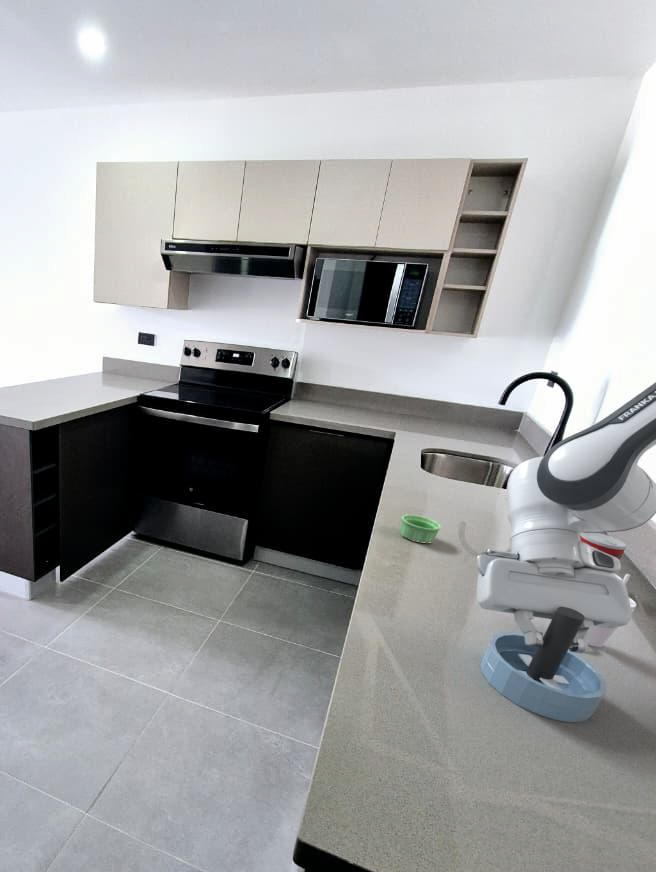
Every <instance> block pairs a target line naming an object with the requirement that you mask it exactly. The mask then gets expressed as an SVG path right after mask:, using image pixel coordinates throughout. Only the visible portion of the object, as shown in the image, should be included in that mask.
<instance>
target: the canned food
mask: <svg viewBox="0 0 656 872" xmlns="http://www.w3.org/2000/svg"><path fill="white" fill-rule="evenodd" d="M580 539H581V542H584V543H586V544H588V545H590V546H591V547H593V548H595V549H598V550H600V551H602V552H604V553H607V554H609V555H611V556H614V557H616V558H617V559H618V560H619V561H620V560H621V558H622V556H623V554H624V552H625V550H626V547H627V544H626V543H625V542H623V541H622V540H620V539H618V538H615V537H614V536H610V535H608V534H604V533H584V532H582V533H580Z"/></svg>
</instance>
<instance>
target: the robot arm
mask: <svg viewBox="0 0 656 872" xmlns="http://www.w3.org/2000/svg"><path fill="white" fill-rule="evenodd" d="M655 446H656V381H655V382H654V383H652V384H651V385H649V386H648V387H647V388H645V389H644V390H643V391H641V392H640V393H638V394H637V395H635V396H634V397H633V398H630V400H628V401H627V402H626V403H624V404H623V405H621V406H620V407H619V408H617V409H616V410H614V411H613V412H612V413H610V414H608V415H607V416H605V417H604V418H603V419H601V420H599V421H598V422H596V423H594V424H593V425H591V426H589V427H587V428H585V429H582V430H581V431H578V432H576V433H574V434H572V435H569V436H567V437H566V438H563V439H561V440H560V441H559V442H557V443H555V444H554V445H553V446H552V447H551V448H550V449H549V450H548V451H547V452H546V453H545V454H544V455H543V456H536V457H533V458H530V459H527V460H525V461H523V462H521V463H519V464H518V465H517V466H515V467H514V468H513V470H512V471H511V473H510V474H509V477H508V479H507V483H506V484H507V485H506V514H507V519H508V522H509V524H510V527H511V532H510V536H509V546H510V547H509V548H510V551H502V550H501V551H500V550H496V549H486V550H485V551H482V552H480V553H479V554H478V556H477V558H476V567H477V571H478V577H477V584H476V602H477V604H478V605H479V606H480V607H481V609H483V610H487V611H494V612H502V613H507V614H513V616H514V617H513V619H514V622H515V624H516V625H517V626H518V628H519V629H520V631H521V632H522V634H524V638H525V644H526V645H530V646H542V645H543V639H542V638H543V636H544V634H543V632H542V631H541V632H540V631H538V630H537V629H536V627H535V625H534V624H533V622H532V621H531V620H534V618H539V619H546V620H552V618H553V616H554V614H555V612H556V610H557V608H558V607H567V608H571V609H573V610H576V611H578V612H580V613H581V614H582V615H584V617H585V619H584V621H583V623H582V625H581V627H580V629H579V631H578V633H577V634H576V636H575V638H574V640H573V642H572V644H571V646H570V648H569V649H568V651H570V652H572V653H575V654H586V653H589V651H590V648H589V645H588V639H589V638H590V636H591V634H592V632H593V631H594V626H598V627H604V628H615V627H618V628H619V627H620V628H621V627H623V626H627V625H628V624H629V623H630V621H631V620H632V617H633V616H632V615H633V614H632V612H633V611H632V612H631V605H630V600H629V598H630V596H629V593H628V588H627V586H626V584H625V583H624V582H623V579H622V577H621V576H619V575H618V574H616V573H617V572H619V571H621V569H622V564H621V561H620V560H618V559H617V558H616V557H614V556H611V555H609V554H607V553H604V552H602V551H600V550H598V549H595V548H593V547H591V546H590V545H588V544H586V543H584V542H581V539H580V535H581V533H582V532H584V533H600V534H603V533H614V532H617V533H618V532H625V531H631V530H634V529H636V528H639V527H640V526H643V525H645V524H646V523H648V522H649V521H650V520H651V519H652V518H653V517H654V516H655V515H656V482H655V481H654V480H653V479H652V477H651V476H650V475H649V474H648V473H647V471H645V470H644V469H643V468H642V467H641V466H639V465H638V463H639V461H640V459H641V458H642V456H643V455H644V454H645V453H646V452H647V451H649V450H650V449H651V448H653V447H655Z"/></svg>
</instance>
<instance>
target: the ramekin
mask: <svg viewBox="0 0 656 872" xmlns="http://www.w3.org/2000/svg"><path fill="white" fill-rule="evenodd" d="M441 528H442V527H441V524H439V523H438V522H437V521H436V520H433V519H431V518H428V517H427V516H426V517H425V516H422V515H418V514H404V515H402V517H401V524H400V529H399V534H400V536H401V535H402V536H401V537H403V536H404V537H406V538H408V539H411V540H415V541H419V542H425V543H429V542H432V543H433V542H434V541H435V539H436V537H437V534H438V533H439V531H440V530H441ZM404 537H403V538H404ZM406 538H405V539H406ZM408 539H407V540H408Z"/></svg>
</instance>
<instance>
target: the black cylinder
mask: <svg viewBox="0 0 656 872" xmlns="http://www.w3.org/2000/svg"><path fill="white" fill-rule="evenodd" d="M584 619H585V617H584V615H582V614H581V613H580V612H578V611H576V610H573V609H571V608H567V607H558V608H557V610H556V612H555V614H554V616H553V618H552V619H550V622H549V624H548V626H547V628H546V630H545V632H544V634H543V638H542V639H543V645H542V646H538V648H537V650H536V652H535V654H534V656H533V658H532V657H531V656H530V655H525V654H518V656H519V657H520V658H521V659H522V660H523V662H524V663H525V664H526V665H527V666H528V668H527V670H522V671H519V670H518V671H519V672H521V673H523V674H524V675H526V676H528V677H529V678H531V679H533V680H535V681H537V682H540V683H542V684H544V685H546V686H549V687H552V688H555V689H558V690H561V691H563V690H562V689H561V688H560V687H559V686H558V684H561V685H569V686H570V683H569V682H568V681H567V680H566V679H565V678H564V677H563V676H559V675H555V674H556V672H557V670H558V668H559V666H560V664H561V663H562V661H563V659H564V657H565V655H566V653H567V651H569V648H570V646H571V644H572V642H573V640H574V638H575V636H576V634H577V633H578V631H579V629H580V627H581V625H582V623H583V621H584Z"/></svg>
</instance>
